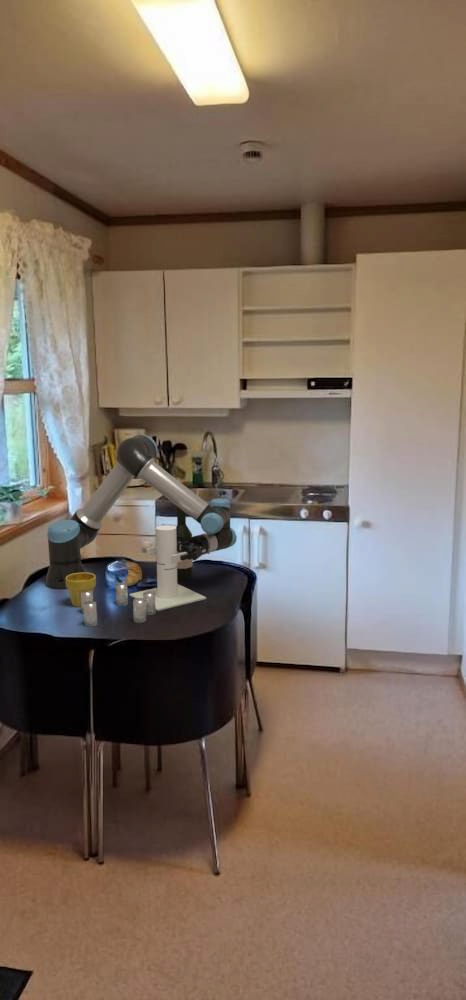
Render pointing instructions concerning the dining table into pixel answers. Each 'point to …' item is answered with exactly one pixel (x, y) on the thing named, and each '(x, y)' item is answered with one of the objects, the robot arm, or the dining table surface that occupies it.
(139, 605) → the lit candle cluster
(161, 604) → the sage board
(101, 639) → the dining table surface
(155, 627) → the dining table surface
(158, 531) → the cylindrical container
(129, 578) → the croissant
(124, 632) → the dining table surface
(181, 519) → the wine bottle
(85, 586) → the plant pot
